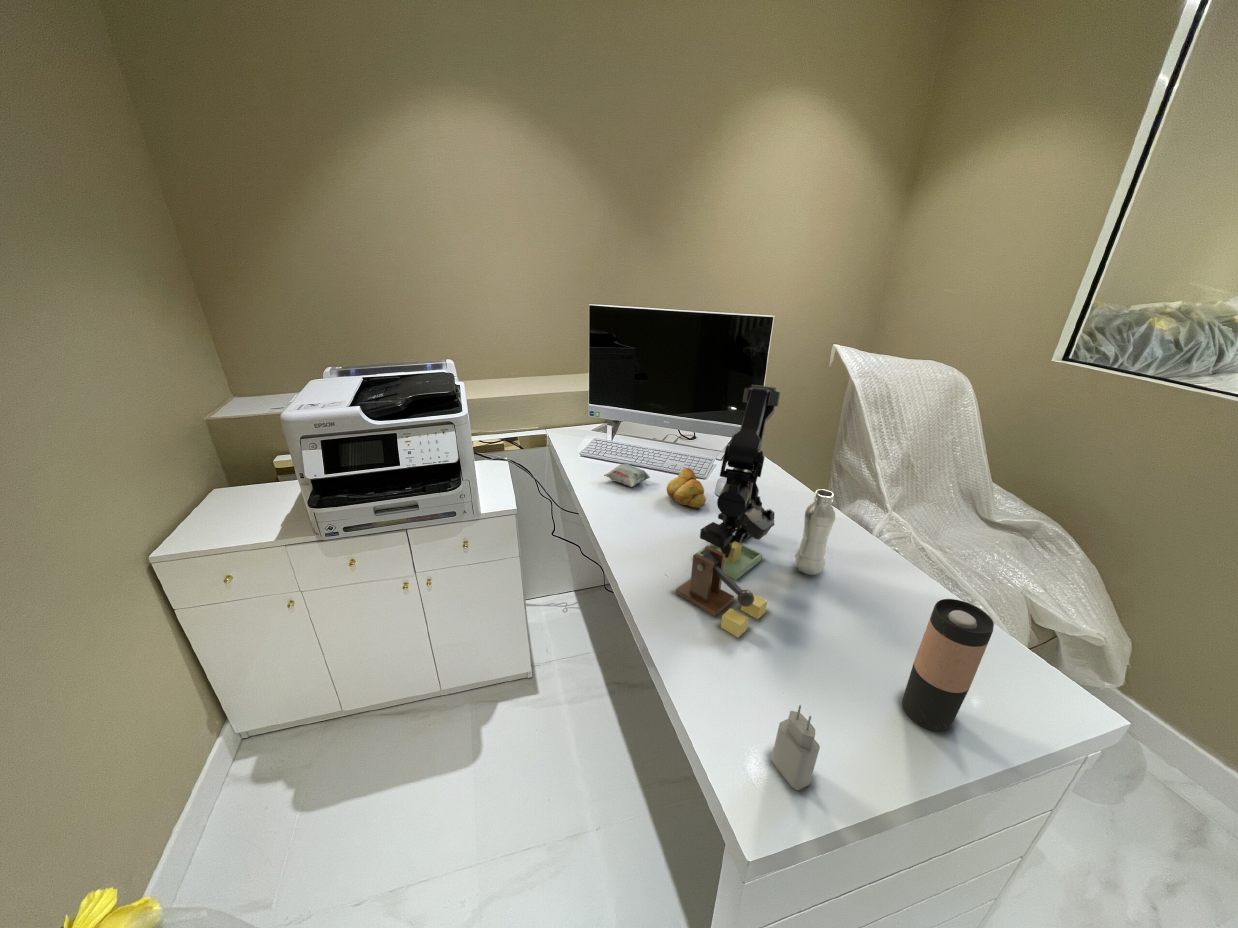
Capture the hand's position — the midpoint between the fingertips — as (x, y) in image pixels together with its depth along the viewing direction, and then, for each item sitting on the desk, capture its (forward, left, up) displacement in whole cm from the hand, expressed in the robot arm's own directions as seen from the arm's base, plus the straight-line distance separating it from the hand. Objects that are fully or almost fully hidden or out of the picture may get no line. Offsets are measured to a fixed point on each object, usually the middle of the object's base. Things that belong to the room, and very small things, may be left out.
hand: (729, 554), depth 118 cm
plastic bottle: (-10, +15, -2) cm, 18 cm away
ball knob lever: (+16, +8, +4) cm, 18 cm away
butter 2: (+12, +13, -2) cm, 18 cm away
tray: (0, 0, -2) cm, 2 cm away
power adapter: (+38, +35, -2) cm, 52 cm away
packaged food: (-12, -45, -2) cm, 47 cm away
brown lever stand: (+16, +4, -2) cm, 16 cm away
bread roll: (-16, -25, -2) cm, 30 cm away
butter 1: (+19, +13, -2) cm, 23 cm away
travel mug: (+13, +46, -2) cm, 48 cm away
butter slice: (0, 0, -1) cm, 1 cm away
